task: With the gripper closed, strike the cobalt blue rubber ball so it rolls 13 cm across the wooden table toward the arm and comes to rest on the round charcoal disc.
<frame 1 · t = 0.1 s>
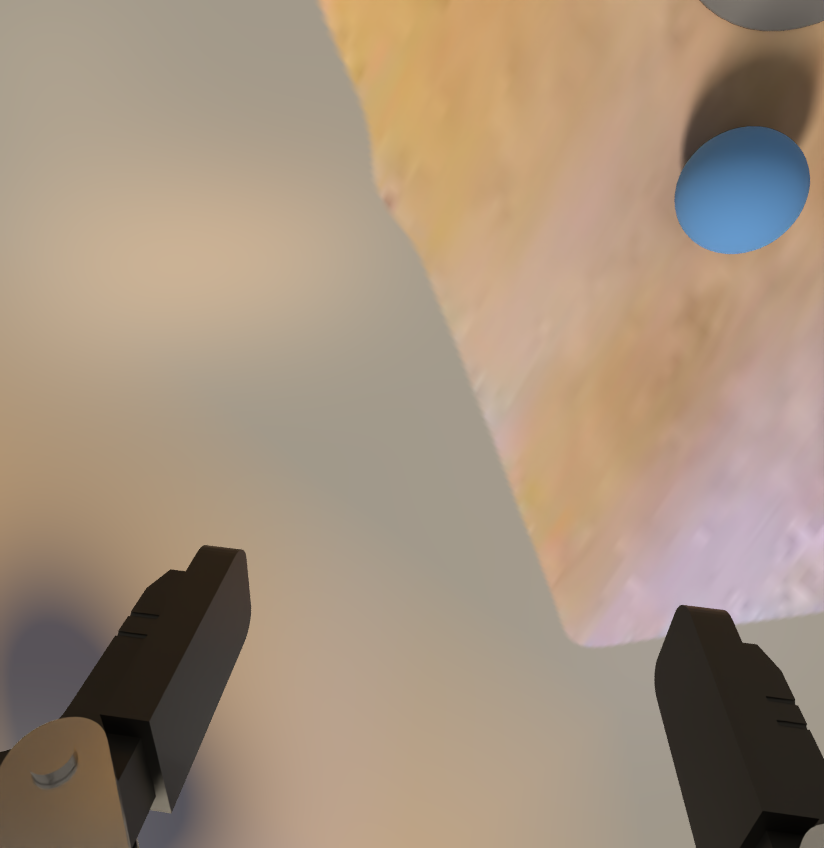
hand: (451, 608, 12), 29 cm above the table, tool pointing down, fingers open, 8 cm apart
ball: (739, 192, 31), on the table
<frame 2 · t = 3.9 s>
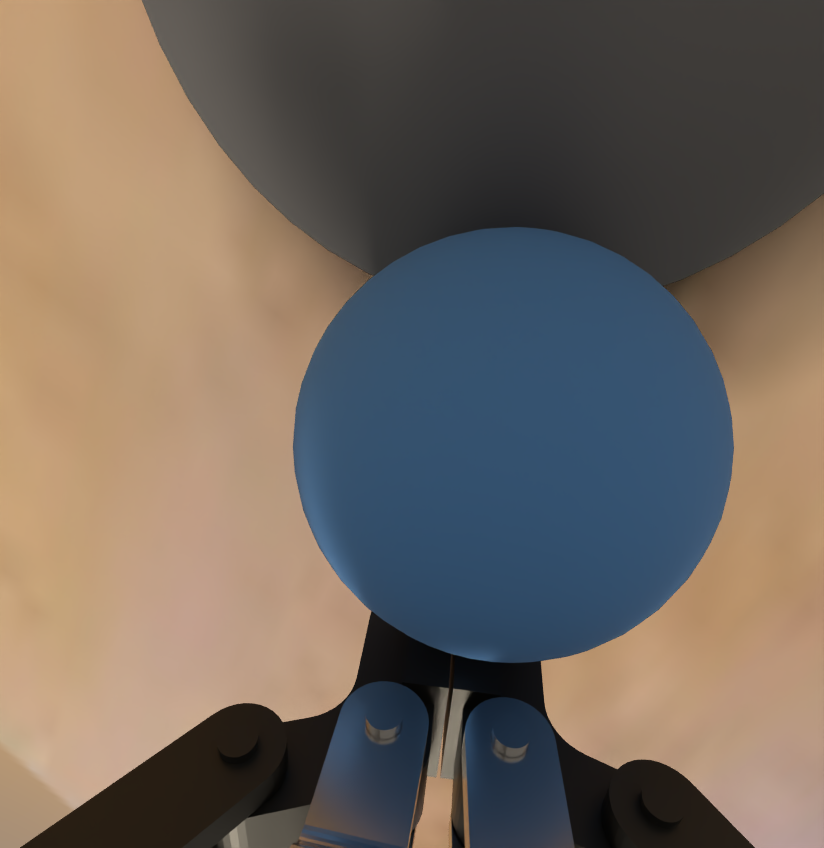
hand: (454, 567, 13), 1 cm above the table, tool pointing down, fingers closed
ball: (502, 442, 9), on the table, touching gripper
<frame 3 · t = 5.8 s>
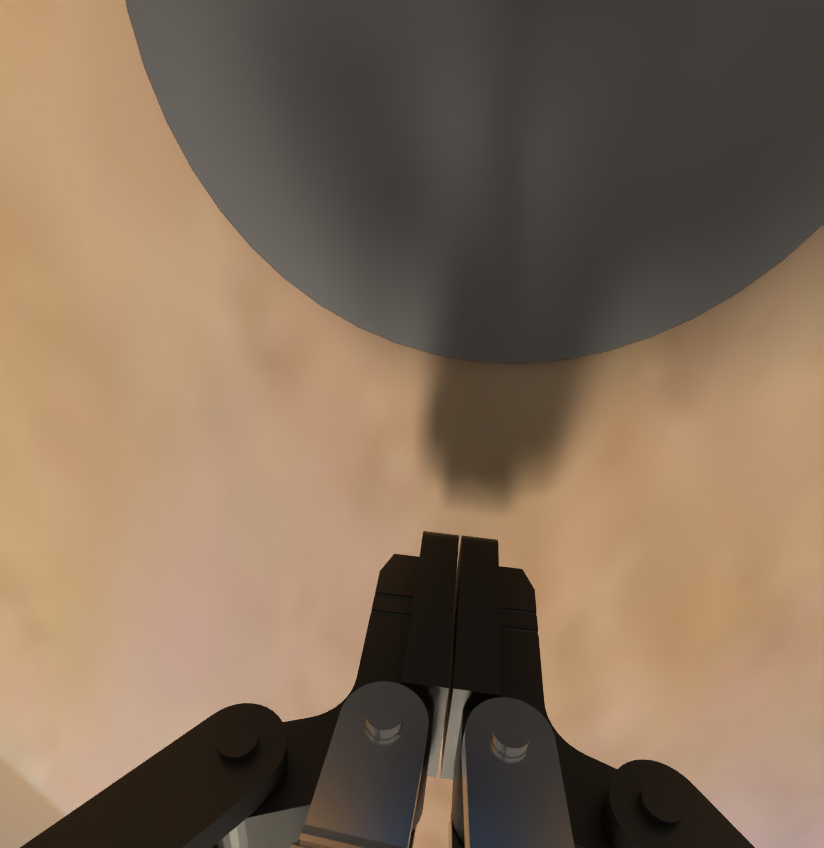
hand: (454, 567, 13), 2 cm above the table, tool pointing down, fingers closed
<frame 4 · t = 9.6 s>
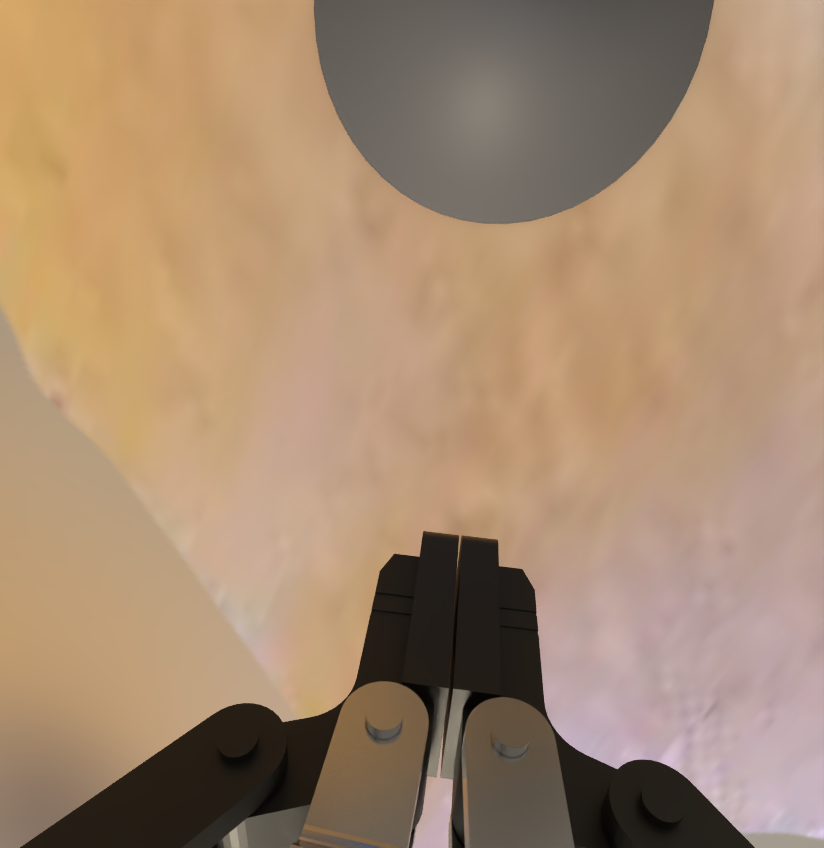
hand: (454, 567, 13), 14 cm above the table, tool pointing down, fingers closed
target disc: (506, 23, 19), on the table
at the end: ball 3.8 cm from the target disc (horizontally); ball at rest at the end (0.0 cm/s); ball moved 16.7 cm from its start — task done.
